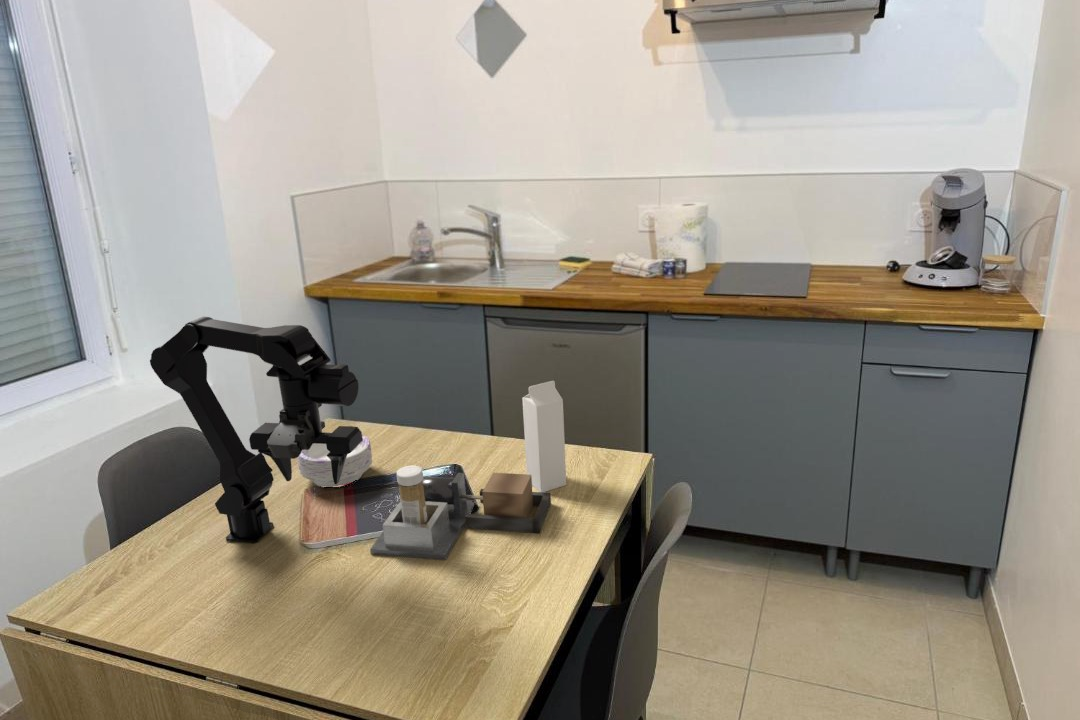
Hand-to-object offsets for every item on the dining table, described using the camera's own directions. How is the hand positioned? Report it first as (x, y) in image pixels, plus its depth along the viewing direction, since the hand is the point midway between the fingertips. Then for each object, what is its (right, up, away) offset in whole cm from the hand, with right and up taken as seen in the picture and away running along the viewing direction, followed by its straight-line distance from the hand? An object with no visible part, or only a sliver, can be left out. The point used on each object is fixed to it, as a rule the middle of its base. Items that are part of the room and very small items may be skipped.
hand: (312, 481), depth 140 cm
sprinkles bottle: (+18, -11, +4) cm, 21 cm away
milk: (+42, -4, +23) cm, 47 cm away
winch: (+21, -10, +8) cm, 25 cm away
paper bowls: (-3, -4, +29) cm, 30 cm away
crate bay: (+34, -8, +11) cm, 37 cm away
